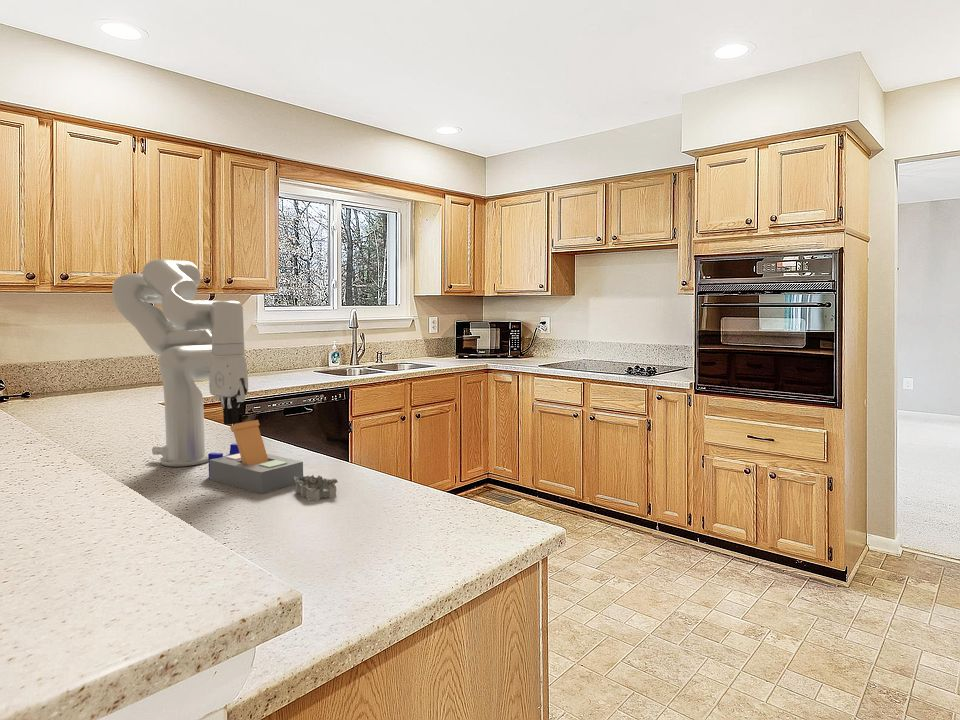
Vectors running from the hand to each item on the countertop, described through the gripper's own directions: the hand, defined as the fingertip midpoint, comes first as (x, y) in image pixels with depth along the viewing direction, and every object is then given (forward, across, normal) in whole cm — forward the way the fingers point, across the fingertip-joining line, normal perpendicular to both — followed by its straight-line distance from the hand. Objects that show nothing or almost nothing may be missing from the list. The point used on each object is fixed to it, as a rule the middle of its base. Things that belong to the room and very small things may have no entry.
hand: (231, 423), depth 158 cm
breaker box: (+13, +9, 0) cm, 16 cm away
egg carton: (+14, +29, +1) cm, 32 cm away
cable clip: (+13, -5, +1) cm, 15 cm away
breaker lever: (+11, +10, 0) cm, 15 cm away
